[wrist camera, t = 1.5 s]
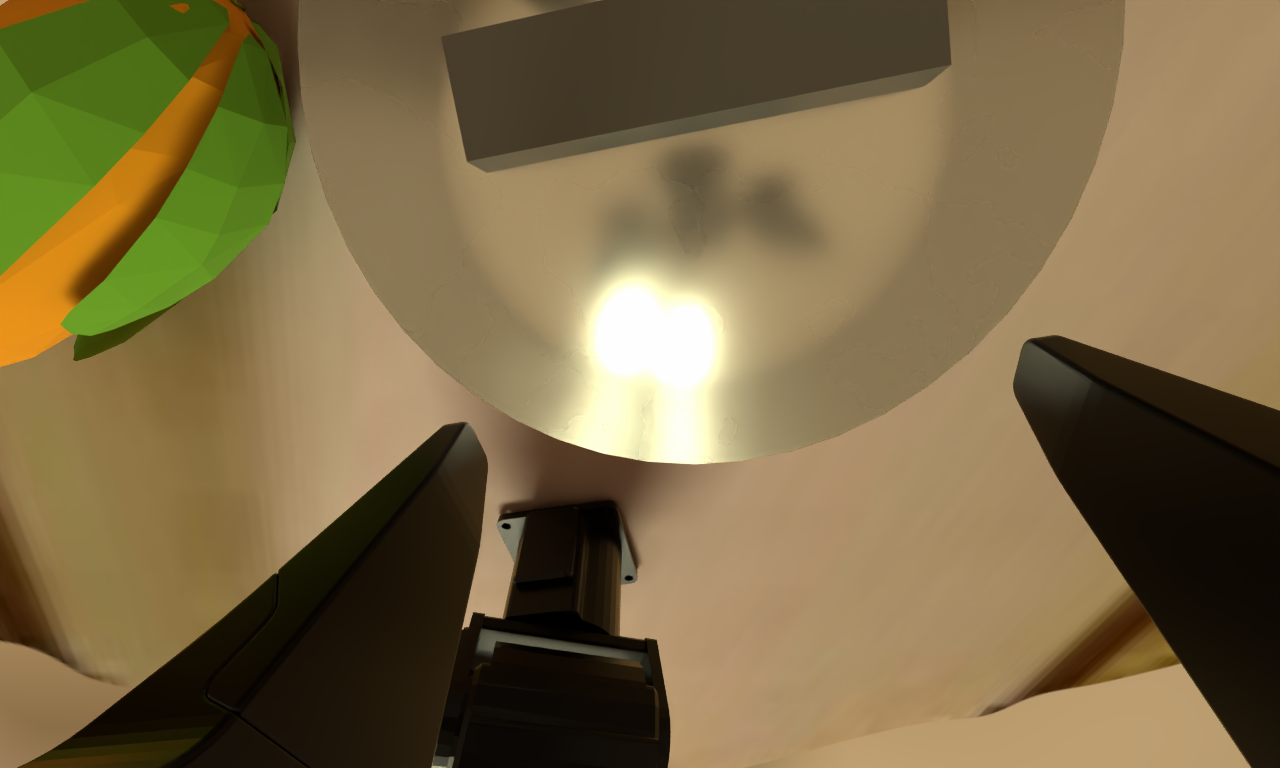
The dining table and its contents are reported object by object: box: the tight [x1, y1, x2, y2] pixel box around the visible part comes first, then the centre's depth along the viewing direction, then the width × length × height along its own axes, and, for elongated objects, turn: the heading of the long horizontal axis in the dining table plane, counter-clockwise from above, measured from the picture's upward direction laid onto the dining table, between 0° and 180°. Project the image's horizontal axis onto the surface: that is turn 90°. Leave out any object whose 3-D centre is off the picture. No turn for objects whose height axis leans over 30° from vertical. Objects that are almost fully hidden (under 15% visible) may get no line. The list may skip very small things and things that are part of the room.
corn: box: [0, 0, 296, 367], centre depth 18 cm, size 7×8×20 cm
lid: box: [297, 0, 1125, 464], centre depth 10 cm, size 15×15×3 cm
